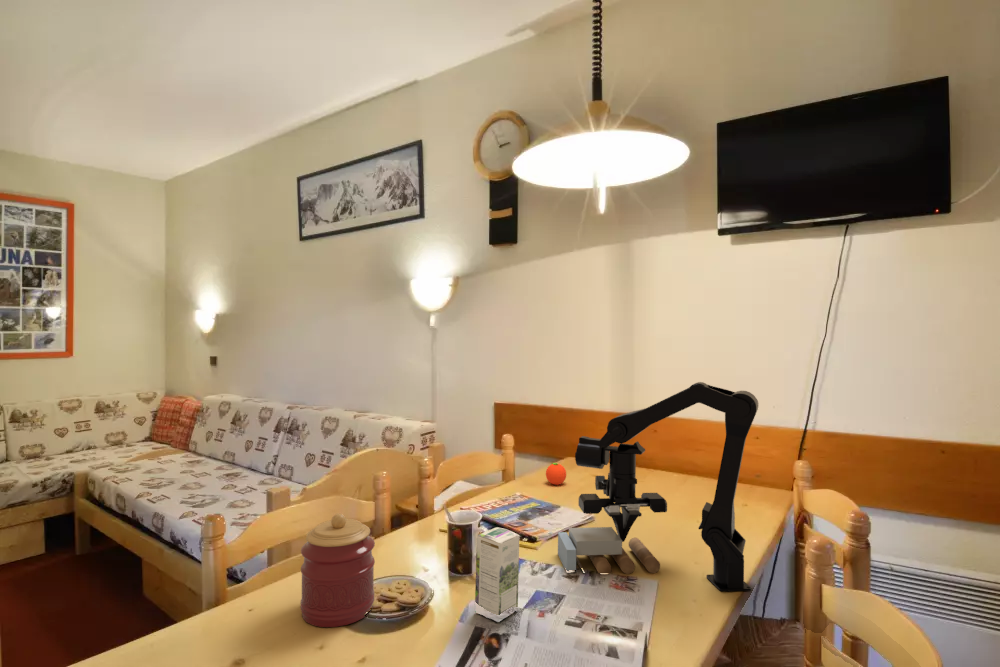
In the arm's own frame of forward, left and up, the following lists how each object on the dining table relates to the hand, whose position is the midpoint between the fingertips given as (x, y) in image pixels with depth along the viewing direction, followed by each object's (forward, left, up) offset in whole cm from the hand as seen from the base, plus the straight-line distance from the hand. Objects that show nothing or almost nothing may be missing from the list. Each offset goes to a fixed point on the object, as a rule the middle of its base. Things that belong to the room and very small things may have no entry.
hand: (621, 541), depth 121 cm
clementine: (+62, +4, -5) cm, 62 cm away
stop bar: (0, +13, -5) cm, 13 cm away
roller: (0, +7, -4) cm, 8 cm away
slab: (0, +6, -1) cm, 6 cm away
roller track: (0, +2, -5) cm, 5 cm away
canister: (-17, +59, -5) cm, 61 cm away
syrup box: (-20, +30, -5) cm, 36 cm away
